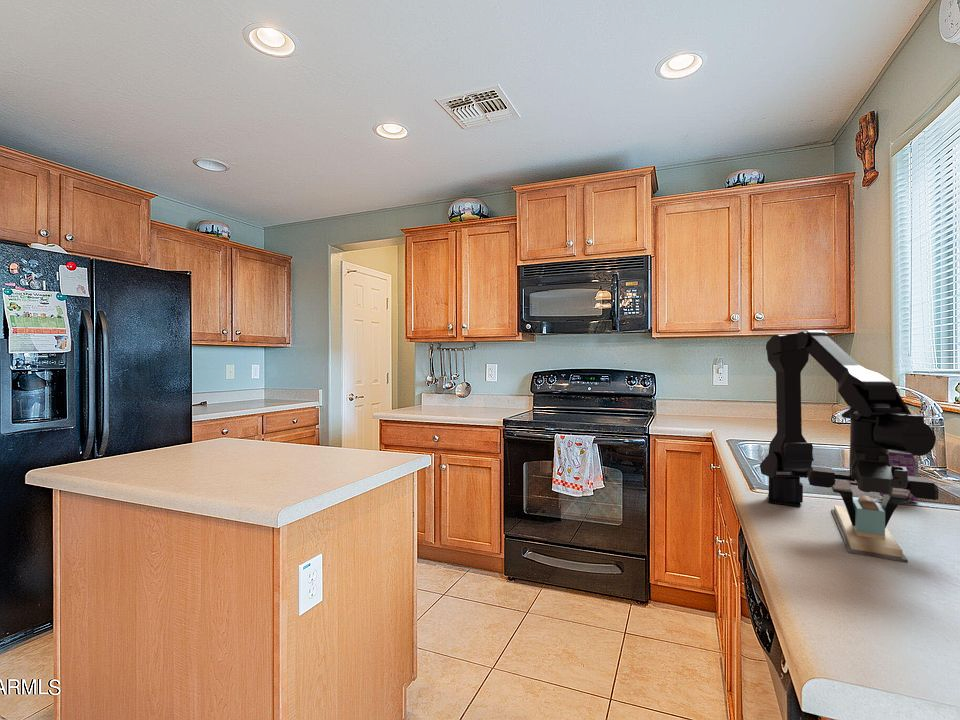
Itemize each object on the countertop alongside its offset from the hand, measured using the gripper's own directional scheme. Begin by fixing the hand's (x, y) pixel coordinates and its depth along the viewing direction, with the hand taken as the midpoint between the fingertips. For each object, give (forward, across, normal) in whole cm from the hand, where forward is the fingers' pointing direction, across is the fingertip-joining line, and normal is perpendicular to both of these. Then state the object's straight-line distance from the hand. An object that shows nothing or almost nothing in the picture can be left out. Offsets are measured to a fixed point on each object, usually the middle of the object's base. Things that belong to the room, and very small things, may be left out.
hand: (867, 527), depth 93 cm
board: (+2, 0, +5) cm, 5 cm away
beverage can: (+3, +11, +37) cm, 38 cm away
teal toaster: (+1, 0, 0) cm, 1 cm away
